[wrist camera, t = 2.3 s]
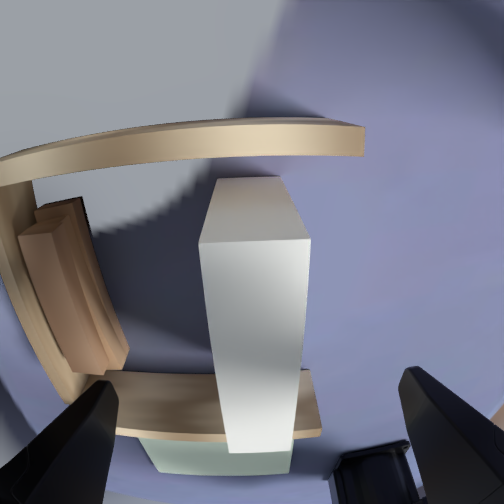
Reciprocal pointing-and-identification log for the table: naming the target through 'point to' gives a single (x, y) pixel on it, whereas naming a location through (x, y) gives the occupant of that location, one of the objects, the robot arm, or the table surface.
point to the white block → (255, 308)
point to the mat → (213, 459)
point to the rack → (137, 152)
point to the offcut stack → (73, 287)
